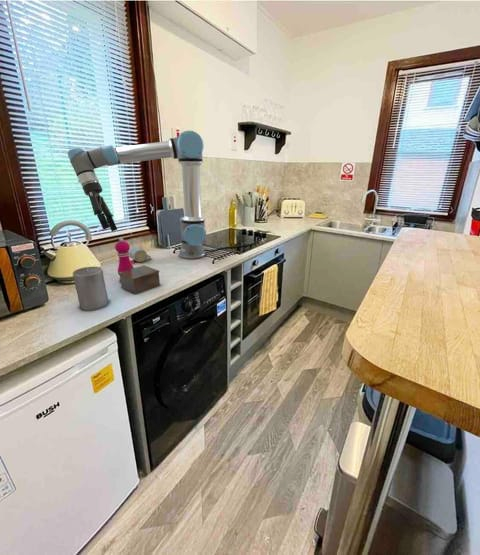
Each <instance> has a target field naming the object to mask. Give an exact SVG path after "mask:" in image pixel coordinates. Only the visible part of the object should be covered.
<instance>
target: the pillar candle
mask: <svg viewBox="0 0 480 555" xmlns="http://www.w3.org/2000/svg"><path fill="white" fill-rule="evenodd" d="M104 276H105V275H104V271H103V268H102V267H101V266H85V267H81V268H77V269H75V270H74V271H73V272H72V277H73V281H74V286H75V290H76V295H77V299H78V305H79V308H80V309H81V310H82V311H83V310H84V311H95V310H98V309H100V308H104V307H106V306H107V305H108V304H109V298H108V297H109V296H108V291H107V287H106V282H105V277H104Z"/></svg>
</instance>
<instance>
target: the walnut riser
mask: <svg viewBox="0 0 480 555" xmlns="http://www.w3.org/2000/svg"><path fill="white" fill-rule="evenodd" d="M119 274H120V276H119V281H120V280H121V281H120V285H121V288H122V289H124V290H126V291H128V292H130V293H132V294H134V295H137V294H141V293H143V292H146V291H148V290H151V289H152V290H153V289H154V288H157V287H160V286H161V282H160V270H158V269H156V268H154V267H150V266H147V265H145V264H144V265H140V266H137V267H134V268H133V269H129V270H125V271H122V272H119Z"/></svg>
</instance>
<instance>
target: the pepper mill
mask: <svg viewBox="0 0 480 555" xmlns="http://www.w3.org/2000/svg"><path fill="white" fill-rule="evenodd" d="M115 243H116V244H115V245H114V249H115V251H116V252H117V253H116V255H117V257H118V261H119V262H118V267H117V275H118V276H119V277H120V274H119V272H122V271H125V270H129V269H133V268H135V267H134V265H133V264H132V262H131V260H130V256H129V255H130V254H129V251H130V249H131V246H130V244H129V243H128V241H124V238H123V237H119V239H118V242H115ZM119 281H120V282H121V280H120V279H119Z"/></svg>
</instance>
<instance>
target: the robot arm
mask: <svg viewBox="0 0 480 555" xmlns="http://www.w3.org/2000/svg"><path fill="white" fill-rule="evenodd" d="M204 147H205V146H204V140H203V138H202V137H201V135H200V134H199V133H197V132H196V131H194V130H184V131H182V132H181V133H180V134H179V135H178V136H175V137H170V138H168V140H166V141H157V142H149V143H141V144H134V145H133V144H132V145H126V146H117V147H114V146H113V144H111V143H110V144H109V143H108V144H105V145H101V146H99V147H95V148H93V149H89V150H86V149H85V148H84V147H80V146H77V147H72V148H70V149H69V150H68V151H67V157H68V159H69V163H70V164H71V166H72V168H73V171H74V173H75V175H76V177H77V179H78V180H77V182H78V183H79V184H80V186H81V187H82V190H83V192H84V194H85V196H87V197H88V198H89V201H90V204H91V206H92V211H93V215H94V216H97V219H98V221H99V224H100V225H101V227H102V229H103V230H106V229H110V231H111V232H114V231H117V230H118V227H117V225H116V223H115V220H114V214H112V212H111V211H110V208H109V207H108V205H107V203H106V202H105V199H104V197H103V196H102V195H100V193H101V194H102V192H103V188H102V185H101V183H100V180H99V178H98V176H97V174H96V172H95V169H98V168H102V167H106V166H107V167H112V166H116V165H123V164H131V163H139V162H145V161H147V162H148V161H154V160H161V159H167V158H171V159H173V160H178V164H179V165H181V176H182V192H183V193H182V194H183V209H184V210H183V211H184V212H183V213H184V216H182V217H180V218H179V226H180V240H181V243H180V244H181V245H180V250H179V254H178V255H179V257H180V258H181V259H184V260H195V259H201V258H203V257H205V256H206V252H209V253H213V252H217V251H219V250H225V249H226V250H227V249H233V248H242V247H249V246H252V245H255V244H260V241H258V240H256V241H254V242H251V243H247V244H240V245H231V246H223V247H218V248H215V249H205V248H204V244H203V243H204V242H205V240H206V238H207V230H206V227H205V226H206V225H205V218H204V216H202V196H201V171H200V170H201V169H200V167H201V165H202V164H203V151H204Z"/></svg>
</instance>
